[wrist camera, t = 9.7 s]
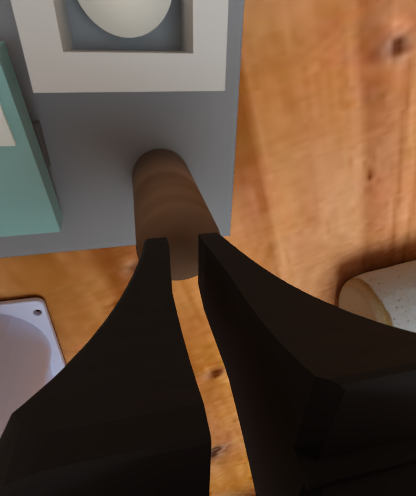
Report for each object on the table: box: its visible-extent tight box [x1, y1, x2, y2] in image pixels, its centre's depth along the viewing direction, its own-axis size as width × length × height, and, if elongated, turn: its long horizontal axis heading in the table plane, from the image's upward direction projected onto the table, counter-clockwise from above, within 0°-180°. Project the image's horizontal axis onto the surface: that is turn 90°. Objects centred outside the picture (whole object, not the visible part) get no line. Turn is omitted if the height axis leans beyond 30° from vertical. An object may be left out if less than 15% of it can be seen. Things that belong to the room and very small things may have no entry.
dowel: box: [132, 149, 220, 280], centre depth 14 cm, size 3×3×7 cm
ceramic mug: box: [339, 260, 416, 333], centre depth 26 cm, size 11×8×8 cm
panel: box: [0, 0, 244, 258], centre depth 13 cm, size 18×16×4 cm
